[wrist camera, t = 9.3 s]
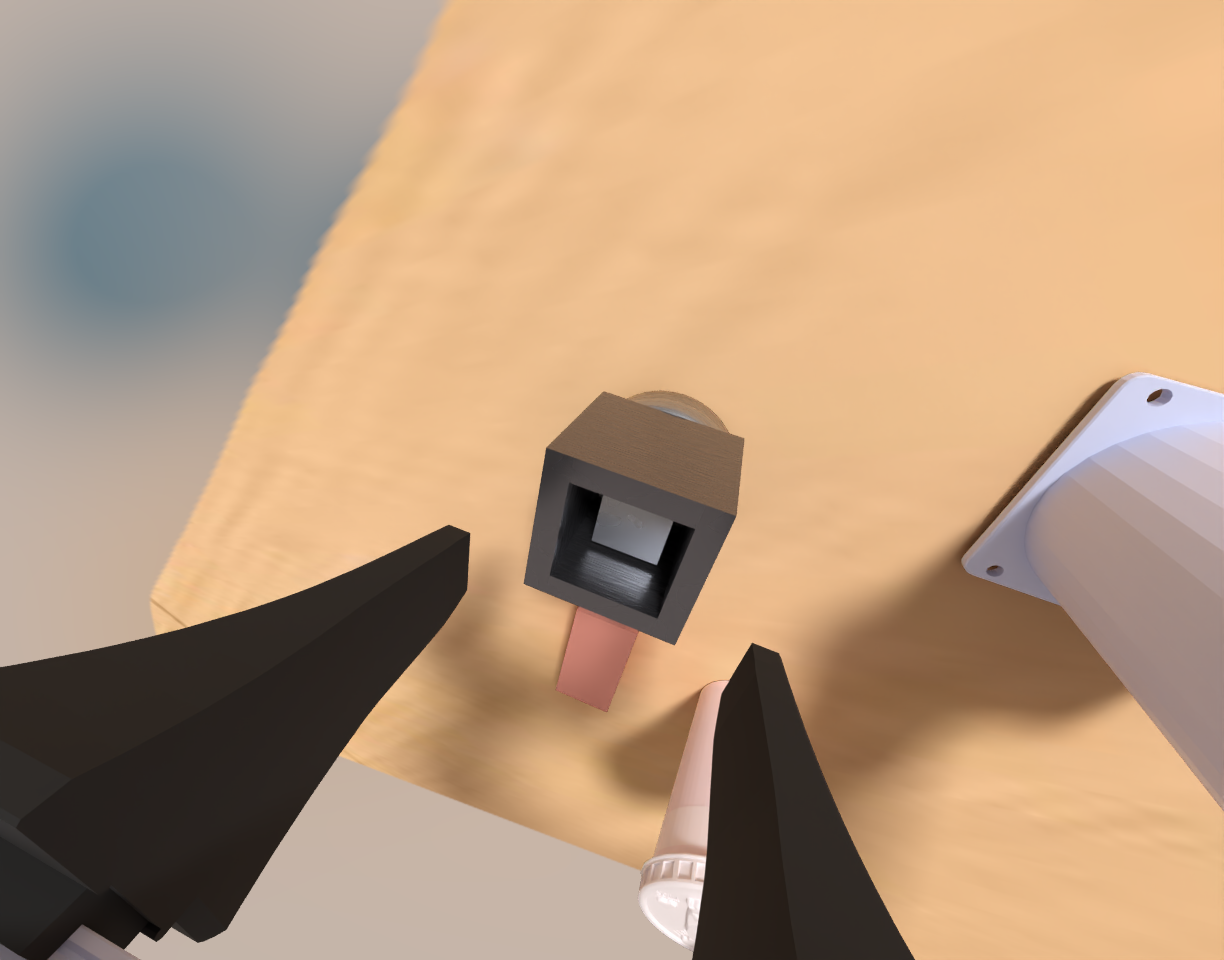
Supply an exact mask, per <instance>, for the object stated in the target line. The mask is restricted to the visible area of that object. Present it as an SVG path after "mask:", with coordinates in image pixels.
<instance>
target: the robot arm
mask: <svg viewBox="0 0 1224 960" xmlns="http://www.w3.org/2000/svg"><path fill="white" fill-rule="evenodd" d="M1159 389H1162V393H1161V395H1160V397H1158V398H1157V399H1155V400H1153V401H1150V402H1147V398H1148V397H1149V395H1150V394H1151V393H1153V392H1154V391H1156V390H1159ZM469 546H470V533H469V532H466V531H463V530H461V529H458V528H456V527H453V526H451V525H447V526H445V527H443V528H441V529H439V530H437V531H434V532H432V533H430V534H428V535H426V536H424V537H422V538H420V539H418V540H416V541H414V542H412V543H410V544H408V545H406V546H403V547H401V548H399V549H397V550H395V551H393V552H391V553H389V554H387V555H385V556H382V557H380V558H378V559H376V560H374V561H372V562H369V563H367V564H365V565H363V566H361V567H359V568H356V569H354V570H352V571H349V572H347V573H345V574H342V575H340V576H337V577H335V578H333V579H330V580H328V581H326V582H323V583H321V584H318V585H316V586H313V587H311V588H308V589H306V590H303V591H301V592H298V593H295V594H292V595H290V596H287V597H284V598H281V599H278V600H275V601H272V602H270V603H267V604H264V605H261V606H258V607H255V608H252V609H249V610H246V611H242V612H239V613H235V614H232V615H228V616H225V617H222V618H218V619H215V620H211V621H208V622H204V623H201V624H198V625H194V626H191V627H187V628H183V629H180V630H176V631H172V632H168V633H164V634H160V635H156V636H152V637H148V638H144V639H139V640H135V641H131V642H126V643H122V644H118V645H114V646H109V647H104V648H99V649H95V650H90V651H85V652H80V653H75V654H69V655H65V656H59V657H54V658H48V659H43V660H38V661H33V662H28V663H22V664H17V665H11V666H5V667H0V960H140V959H138V958H137V957H135V956H133V955H132V954H130V953H128V952H127V951H125V950H124V949H125V948H126V947H127V946H128V945H129V944H130V942H131V941H132V940H133V939H134V938H135V937H136V936H137V934H138V933H139V932H141V933H143V934H144V935H146V936H148V937H149V938H151V939H152V940H154V941H156V942H157V941H158V940H160V939H161V938H162V937H163V936H164V935H165V934H166V933H167V931H168V930H169V929H170V928H171V927H172V928H174V929H176V930H177V931H179V932H181V933H182V934H184V935H186V936H187V937H189V938H191V939H192V940H194V941H196V942H197V943H199V942H203V941H205V940H208V939H210V938H212V937H214V936H216V935H218V934H220V933H221V932H223V931H225V930H226V929H227V928H228V926H229V924H230V923H231V921H232V919H233V918H234V916H235V914H236V913H237V911H238V909H239V908H240V906H241V905H242V903H243V901H244V899H245V898H246V897H247V895H248V893H249V892H250V890H251V888H252V887H253V885H254V884H255V882H256V880H257V879H258V877H259V876H260V874H261V872H262V871H263V869H264V867H265V866H266V864H267V863H268V861H269V859H270V858H271V856H272V855H273V853H274V851H275V850H276V848H277V847H278V845H279V844H280V842H281V841H282V839H283V838H284V836H285V834H286V833H287V832H288V830H289V829H290V827H291V825H292V824H293V822H294V821H295V819H296V818H297V816H298V815H299V813H300V812H301V810H302V809H303V807H304V806H305V804H306V803H307V801H308V800H309V798H310V797H311V795H312V794H313V792H314V790H315V789H316V788H317V786H318V785H319V784H320V782H321V781H322V779H323V777H324V776H325V775H326V773H327V772H328V770H329V769H330V768H331V766H332V765H333V763H334V762H335V760H336V759H337V757H338V756H339V754H340V753H341V752H342V750H343V749H344V747H345V746H346V745H347V743H348V742H349V740H350V739H351V738H352V736H353V735H354V734H355V732H356V731H357V729H358V728H359V727H360V725H361V724H362V722H363V721H364V720H365V718H366V717H367V716H368V714H369V713H370V712H371V711H372V709H373V708H374V707H375V705H376V704H377V703H378V702H379V700H380V699H381V698H382V697H383V696H384V695H385V693H386V692H387V691H388V690H389V689H390V688H391V686H392V685H393V684H394V683H395V682H396V681H397V679H398V678H399V677H400V676H401V675H402V674H403V672H404V671H405V670H406V669H407V668H408V667H409V665H410V664H411V663H412V662H413V661H414V660H415V658H416V657H417V656H418V655H419V654H420V653H421V651H422V650H423V649H424V648H425V647H426V646H427V644H428V643H429V642H430V641H431V640H432V638H433V637H434V636H435V635H436V634H437V632H438V631H439V630H440V629H441V628H442V626H443V625H444V624H445V623H446V621H447V620H448V618H449V617H450V615H451V614H452V612H453V611H454V609H455V608H456V606H457V605H458V603H459V602H460V600H461V599H462V597H463V596H464V594H465V592H466V591H467V583H468V564H469ZM961 563H962V565H963V567H964V569H965V570H966V572H967V573H969V574H971V575H973V576H976V577H979V578H982V579H985V580H988V581H991V582H994V583H996V584H999V585H1002V586H1005V587H1008V588H1011V589H1014V590H1017V591H1019V592H1022V593H1025V594H1028V595H1031V596H1034V597H1037V598H1039V599H1042V600H1045V601H1048V602H1051V603H1054V604H1057V605H1060V606H1062V608H1063V609H1064V610H1065V611H1066V613H1067V614H1068V615H1069V616H1070V618H1071V619H1072V620H1073V622H1074V623H1075V624H1076V625H1077V627H1078V628H1079V629H1080V630H1081V632H1082V633H1083V634H1084V635H1085V637H1086V638H1087V639H1088V640H1089V642H1090V643H1091V644H1092V646H1093V647H1094V648H1095V649H1096V651H1097V652H1098V653H1099V654H1100V656H1101V657H1102V658H1103V659H1104V661H1105V662H1106V663H1107V664H1108V666H1109V667H1110V668H1111V670H1112V671H1113V672H1114V673H1115V675H1116V676H1117V677H1118V678H1119V680H1120V681H1121V682H1122V683H1123V685H1124V686H1125V687H1126V688H1127V690H1128V691H1129V692H1130V694H1131V695H1132V696H1133V697H1134V699H1135V700H1136V701H1137V702H1138V704H1139V705H1140V706H1141V707H1142V709H1143V710H1144V711H1145V712H1146V714H1147V715H1148V716H1149V718H1150V719H1151V720H1152V721H1153V723H1154V724H1155V725H1156V726H1157V728H1158V729H1159V730H1160V731H1161V733H1162V734H1163V735H1164V736H1165V738H1166V739H1167V740H1168V742H1169V743H1170V744H1171V745H1172V747H1173V748H1174V749H1175V750H1176V752H1177V753H1178V754H1179V755H1180V757H1181V758H1182V759H1183V760H1184V762H1185V763H1186V764H1187V766H1188V767H1189V768H1190V769H1191V771H1192V772H1193V773H1194V774H1195V776H1196V777H1197V778H1198V779H1199V781H1200V782H1201V783H1202V784H1203V786H1204V787H1205V788H1206V790H1207V791H1208V792H1209V793H1210V795H1211V796H1212V797H1213V798H1214V800H1215V801H1216V802H1217V803H1218V805H1219V806H1220V807H1221V808H1222V810H1223V811H1224V394H1222V393H1218V392H1215V391H1211V390H1207V389H1204V388H1200V387H1197V386H1193V385H1189V384H1186V383H1182V382H1178V381H1175V380H1171V379H1167V378H1164V377H1160V376H1157V375H1153V374H1149V373H1144V372H1136V373H1131V374H1128V375H1126V376H1124V377H1122V378H1120V379H1119V380H1118V381H1116V382H1115V383H1114V384H1113V385H1112V386H1111V388H1110V389H1109V390H1108V391H1107V392H1106V393H1105V394H1104V396H1103V397H1102V398H1101V399H1100V400H1099V401H1098V402H1097V404H1096V405H1095V406H1094V407H1093V408H1092V409H1091V410H1090V412H1089V413H1088V414H1087V415H1086V416H1085V417H1084V418H1083V420H1082V421H1081V422H1080V423H1079V424H1078V425H1077V426H1076V428H1075V429H1074V430H1073V431H1072V432H1071V433H1070V434H1069V436H1068V437H1067V438H1066V439H1065V440H1064V441H1063V442H1062V444H1061V445H1060V446H1059V447H1058V448H1057V449H1056V450H1055V452H1054V453H1053V454H1052V455H1051V456H1050V457H1049V459H1048V460H1047V461H1046V462H1045V463H1044V464H1043V465H1042V467H1041V468H1040V469H1039V470H1038V471H1037V472H1036V473H1035V475H1034V476H1033V477H1032V478H1031V479H1030V480H1029V481H1028V483H1027V484H1026V485H1025V486H1024V487H1023V488H1022V489H1021V491H1020V492H1019V493H1018V494H1017V495H1016V496H1015V497H1014V499H1013V500H1012V501H1011V502H1010V503H1009V504H1008V505H1007V507H1006V508H1005V509H1004V510H1003V511H1002V512H1001V513H1000V515H999V516H998V517H997V518H996V519H995V520H994V521H993V523H992V524H991V525H990V526H989V527H988V528H987V529H986V531H985V532H984V533H983V534H982V535H981V536H980V537H979V539H978V540H977V541H976V542H975V543H974V544H973V545H972V547H971V548H970V549H969V550H968V551H967V552H966V553H965V555H964V556H963V558H962V559H961ZM995 565H997V566H998V567H997V568H996V569H993V570H987V568H989V567H991V566H995ZM692 960H915V959H914V957H913V955H912V954H911V952H910V950H909V949H908V947H907V945H906V943H905V942H904V940H903V938H902V936H901V935H900V933H899V931H898V929H897V927H896V925H895V924H894V922H893V920H892V918H891V916H890V914H889V912H888V910H887V909H886V907H885V905H884V903H883V901H882V899H881V897H880V895H879V893H878V892H877V890H876V888H875V886H874V884H873V882H872V880H871V878H870V876H869V874H868V872H867V870H866V868H865V866H864V864H863V862H862V860H861V858H860V856H859V854H858V852H857V850H856V848H855V846H854V843H853V841H852V839H851V837H850V835H849V833H848V831H847V828H846V826H845V824H844V822H843V820H842V818H841V815H840V813H839V811H838V808H837V806H836V804H835V802H834V799H833V797H832V795H831V792H830V790H829V788H828V785H827V783H826V781H825V778H824V776H823V773H822V771H821V769H820V766H819V763H818V761H817V758H816V756H815V753H814V751H813V748H812V745H811V743H810V740H809V738H808V735H807V732H806V730H805V727H804V724H803V722H802V719H801V716H800V713H799V710H798V707H797V705H796V702H795V699H794V696H793V693H792V690H791V687H790V684H789V681H788V678H787V675H786V672H785V669H784V666H783V663H782V660H781V657H780V655H779V653H777V652H774V651H772V650H769V649H766V648H764V647H761V646H759V645H756V644H754V643H752V644H751V646H750V647H749V649H748V651H747V652H746V654H745V655H744V657H743V659H742V660H741V662H740V664H739V665H738V667H737V669H736V670H735V672H734V674H733V675H732V677H731V679H730V680H729V682H728V684H727V685H726V687H725V689H724V690H723V692H722V694H721V698H720V704H719V709H718V715H717V720H716V726H715V733H714V739H713V753H712V770H711V786H710V804H709V822H708V839H707V854H706V865H705V876H704V883H703V890H702V897H701V904H700V911H699V918H698V925H697V932H696V939H695V945H694V951H693V958H692Z"/></svg>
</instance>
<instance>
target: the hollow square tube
mask: <svg viewBox="0 0 1224 960" xmlns="http://www.w3.org/2000/svg"><path fill="white" fill-rule="evenodd" d="M743 447H744V438H741V437H738V436H735V435H732V434H729V433H726V432H723V431H720V430H717V429H714V428H711V427H708V426H706V425H703V424H700V423H697V422H694V421H691V420H688V419H685V418H682V417H679V416H676V415H673V414H670V413H667V412H664V411H661V410H658V409H655V408H652V407H649V406H646V405H643V404H640V403H637V402H634V401H631V400H628V399H625V398H622V397H619V396H616V395H613V394H610V393H607V392H603V393H602V394H601V395H600V396H598V397H597V398H596V399H595V400H594V401H593V402H592V403H591V404H590V405H589V406H588V407H587V408H586V409H585V410H584V411H583V412H582V413H581V414H580V415H579V416H578V417H577V418H576V419H575V420H574V421H573V422H572V423H571V424H570V425H569V426H568V427H567V428H566V429H565V430H564V431H563V432H562V433H561V434H560V435H559V436H558V437H557V438H556V439H555V440H554V441H553V442H552V443H551V444H550V445H549V446H548V447H547V448H546V453H545V459H544V465H543V471H542V477H541V483H540V489H539V495H538V501H537V507H536V513H535V519H534V525H533V531H532V537H531V543H530V549H529V555H528V561H527V567H526V573H525V579H524V584H525V585H528V586H530V587H533V588H535V589H538V590H540V591H543V592H545V593H547V594H550V595H552V596H555V597H557V598H560V599H562V600H565V601H567V602H570V603H572V604H574V605H577V606H579V607H582V608H584V609H587V610H589V611H592V612H594V613H597V614H599V615H601V616H604V617H606V618H609V619H611V620H614V621H616V622H619V623H621V624H623V625H626V626H628V627H631V628H633V629H636V630H638V631H641V632H643V633H646V634H648V635H650V636H653V637H655V638H658V639H660V640H663V641H665V642H668V643H670V644H673V645H675V644H676V642H677V640H678V638H679V635H680V633H681V631H682V629H683V627H684V625H685V623H686V621H687V619H688V617H689V614H690V612H691V610H692V608H693V606H694V604H695V602H696V600H697V598H698V596H699V593H700V591H701V589H702V587H703V585H704V583H705V581H706V579H707V577H708V575H709V573H710V570H711V568H712V566H713V564H714V562H715V560H716V558H717V556H718V554H719V552H720V549H721V547H722V545H723V543H724V541H725V539H726V537H727V535H728V533H729V531H730V528H731V526H732V524H733V522H734V520H735V518H736V515H737V505H738V495H739V486H740V476H741V466H742V456H743ZM600 494H601V495H604V496H607V497H610V498H612V499H615V500H618V501H620V502H623V503H626V504H629V505H631V506H634V507H637V508H639V509H642V510H645V511H648V512H650V513H653V514H656V515H658V516H661V517H664V518H667V519H669V520H672V521H675V522H677V523H680V524H683V525H684V527H683V528H682V527H680V526H677V525H674V524H672V526H671V529H670V532H669V534H668V537H667V539H666V542H665V545H664V547H663V550H662V553H661V555H660V558H659V561H658V563H657V565H655V564H652V563H649V562H647V561H644V560H642V559H639V558H636V557H634V556H631V555H628V554H626V553H623V552H621V551H618V550H615V549H613V548H610V547H607V546H605V545H602V544H600V543H597V542H594V541H592V537H593V533H594V529H595V525H596V521H597V517H598V513H599V509H600V506H601V502H602V498H601V497H599V496H600Z"/></svg>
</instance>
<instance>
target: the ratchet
mask: <svg viewBox="0 0 1224 960" xmlns="http://www.w3.org/2000/svg"><path fill="white" fill-rule="evenodd" d="M628 400H631V401H634V402H637V403H640V404H643V405H646V406H649V407H652V408H655V409H658V410H661V411H664V412H667V413H670V414H673V415H676V416H679V417H682V418H685V419H688V420H691V421H694V422H697V423H700V424H703V425H706V426H708V427H711V428H714V429H717V430H720V431H723V432H726V433H729V432H728V430H727V429H726V427H725V425H724V424H723V422H722V421H721V420H720V419H719V417H718V416H717V415H716V414H715V413H714V412H713V411H712V410H711V409H709V408H708V407H707V406H705V405H704V404H702V403H701V402H699V401H697V400H695V399H694V398H691V397H689V396H686V395H683V394H679V393H676V392H669V391H651V392H644V393H641V394H637V395H634V396H632V397H630V398H628ZM599 497H601V498H602V502H601V506H600V509H599V513H598V517H597V521H596V525H595V529H594V533H593V537H592V541H594V542H597V543H600V544H602V545H605V546H607V547H610V548H613V549H615V550H618V551H621V552H623V553H626V554H628V555H631V556H634V557H636V558H639V559H642V560H644V561H647V562H649V563H652V564H655V565H657V563H658V561H659V558H660V555H661V553H662V550H663V547H664V545H665V542H666V539H667V537H668V534H669V532H670V529H671V526H672V524H674V525H677V526H680V527H682V528H683V527H684V525H683V524H680V523H677V522H675V521H672V520H669V519H667V518H664V517H661V516H658V515H656V514H653V513H650V512H648V511H645V510H642V509H639V508H637V507H634V506H631V505H629V504H626V503H623V502H620V501H618V500H615V499H612V498H610V497H607V496H604V495H601V494H600V496H599ZM637 634H638V630H636V629H633V628H631V627H628V626H626V625H623V624H621V623H619V622H616V621H614V620H611V619H609V618H606V617H604V616H601V615H599V614H597V613H594V612H592V611H589V610H587V609H584V608H582V607H578V609H577V611H576V615H575V619H574V622H573V626H572V630H571V634H570V638H569V641H568V645H567V649H566V653H565V656H564V660H563V664H562V668H561V672H560V675H559V679H558V683H557V687H556V690H557V691H559V692H561V693H564V694H566V695H568V696H570V697H573V698H575V699H577V700H580V701H582V702H584V703H587V704H589V705H591V706H593V707H596V708H598V709H600V710H603V711H605V712H607V711H608V709H609V706H610V703H611V701H612V698H613V696H614V693H615V691H616V688H617V685H618V683H619V680H620V678H621V675H622V673H623V670H624V668H625V665H626V662H627V660H628V657H629V655H630V652H631V650H632V647H633V645H634V642H635V639H636V637H637Z"/></svg>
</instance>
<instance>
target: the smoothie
mask: <svg viewBox="0 0 1224 960" xmlns="http://www.w3.org/2000/svg"><path fill="white" fill-rule="evenodd" d="M728 682H729V681H727V680H723V681H716V682H712V683H710V684H708V685H706V686H705V687H704V688H703V689H702V691H701V693H700V697H699V700H698V704H697V707H696V710H695V714H694V717H693V721H692V724H691V728H690V731H689V735H688V738H687V742H686V745H685V748H684V752H683V755H682V759H681V762H680V766H679V769H678V773H677V776H676V780H675V783H674V787H673V790H672V793H671V797H670V800H669V804H668V807H667V811H666V814H665V818H664V820H663V824H662V827H661V831H660V835H659V838H658V842H657V846H656V849H655V853H654V856H653V857H652V858H650V859H649V860H647V861H646V862H645V863H644V865H643V867H642V870H641V876H642V878H641V884H640V889H639V894H638V902H639V905H640V908H641V910H642V912H643V913H644V915H645V916H646V917H647V919H648V920H649V921H650V922H651V923H652V924H653V925H654V926H655V927H656V928H657V929H658V930H660V931H661V932H662V933H663V934H665V935H666V936H667V937H669V938H670V939H672V940H673V941H675V942H676V943H678V944H680V945H682V946H683V947H685V948H687V949H689V950H690V951H694V945H695V939H696V932H697V925H698V918H699V911H700V904H701V897H702V890H703V883H704V876H705V865H706V854H707V839H708V822H709V804H710V786H711V770H712V753H713V739H714V733H715V726H716V720H717V715H718V709H719V704H720V698H721V694H722V692H723V690H724V689H725V687H726V685H727V684H728Z"/></svg>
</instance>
